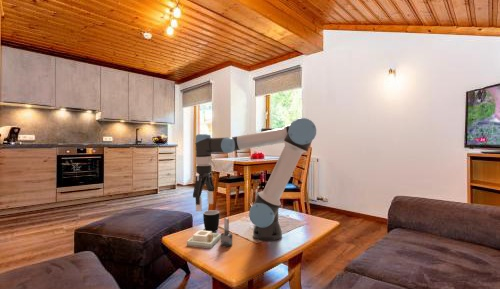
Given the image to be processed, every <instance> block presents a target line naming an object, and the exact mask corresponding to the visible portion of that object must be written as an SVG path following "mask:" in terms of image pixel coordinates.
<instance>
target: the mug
mask: <svg viewBox="0 0 500 289" xmlns="http://www.w3.org/2000/svg"><path fill="white" fill-rule="evenodd" d="M202 218H203V226H204V231H212V233H216V232H217V231H218V228H219V225H220V211H219V210H215V209H211V210H210V209H209V210H205V211H204V212H203V214H202Z"/></svg>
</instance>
